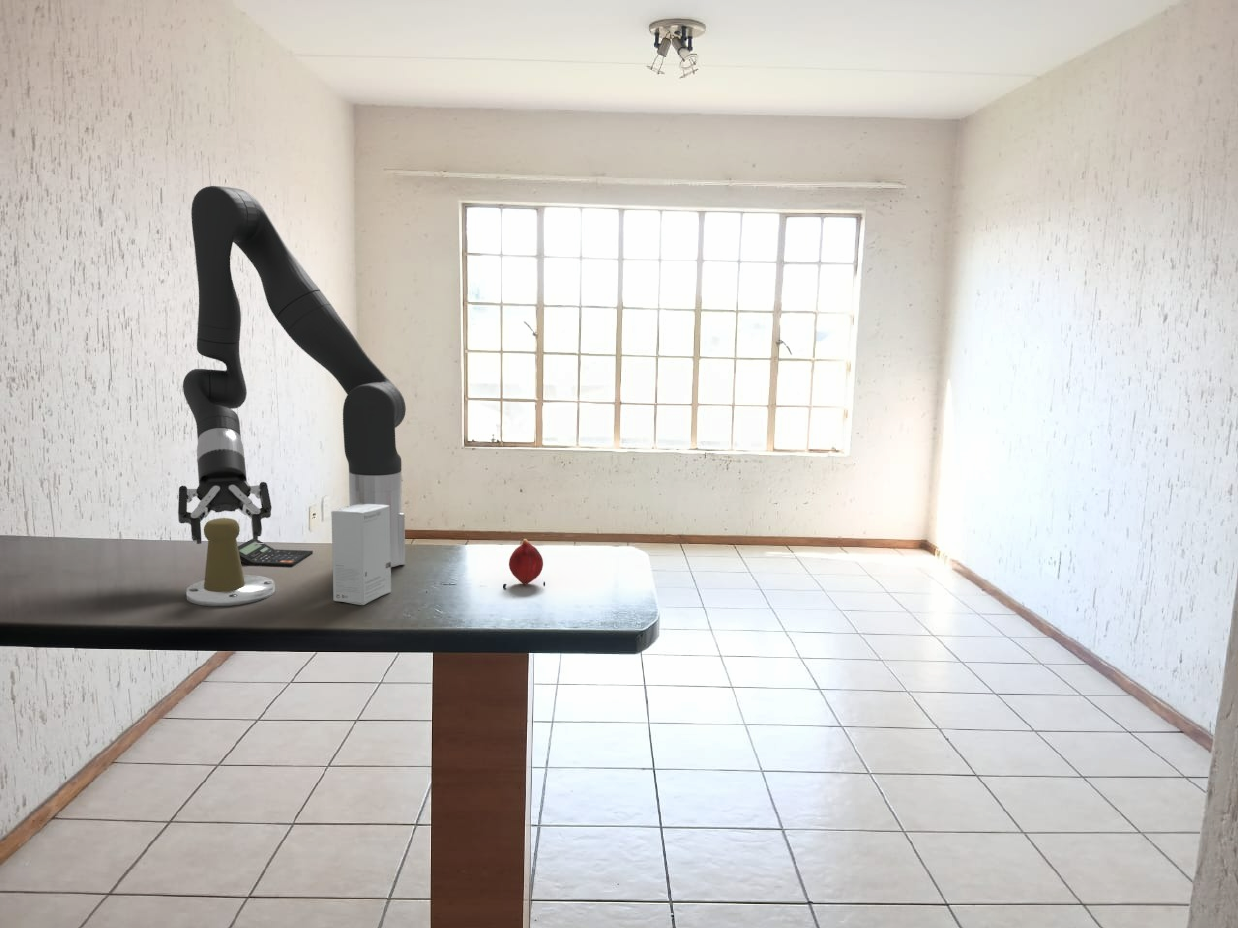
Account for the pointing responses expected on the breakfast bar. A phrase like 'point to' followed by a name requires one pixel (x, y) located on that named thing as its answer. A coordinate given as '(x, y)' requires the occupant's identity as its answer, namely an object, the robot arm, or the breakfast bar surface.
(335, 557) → the skincare box
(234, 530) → the cork
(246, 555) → the calculator
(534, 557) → the onion
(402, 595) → the breakfast bar surface
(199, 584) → the flange
